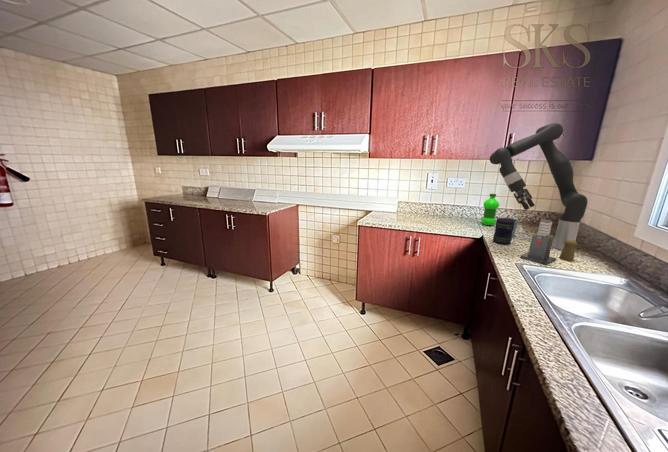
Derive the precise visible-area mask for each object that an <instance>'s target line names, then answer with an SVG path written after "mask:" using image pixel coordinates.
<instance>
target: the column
mask: <svg viewBox="0 0 668 452" xmlns="http://www.w3.org/2000/svg"><path fill="white" fill-rule="evenodd" d="M539 222H540V223H539V226H538V231H537V233H538V236H543V237H549V235H550V234H551V229H552V226H553V220H549V219H541V220H540V221H539Z"/></svg>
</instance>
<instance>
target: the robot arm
mask: <svg viewBox="0 0 668 452" xmlns="http://www.w3.org/2000/svg"><path fill="white" fill-rule="evenodd" d="M563 133H564V127H563V125H562V124H560V123H558V122H553V123H549V124H546V125H544V126H541V127H539V128H537V130H536V131H535V133H534V134H532V135H529V136H527V137H524V138H521V139H519V140H516V141H514V142H512V143H510V144H508V145H507V146H505V147H499V148H497V149H496V150H495V151H494V152H492V153H491V155H490V156H489V161H490V162H489V163H491V164H493V165H500V168H499V173H500V175H501V176H502V179H503V181H504V182H505V185H506V187H507V188H508V189H509V191H510V193H513V196H514V199H515V200H516V202H517V204H519V205H521V206H522V208H523V210H525V211H527V210H529V209H530V208H533V207H535V206H536V205H535V203H534V201H533V200H532V199H533V196H532V194H531V193H530V191H529V190H528V188H525V187H527V184H526V182H525V181H524V179H523V177H522V175H521V174H520V172H518V170H517V169H516V167H515V166H514V163H513V162H514V161H513V159H512V158H513V157H516V156H518V155H520V154H522V153H524V152H526V151H528V150H531V149H532V148H534V147H536V146H539V147H540V150H542V153H543V155H544V157H545V160H546V162H547V164H548V167H549V171H550V172H551V175H552V177H553V179H554V182H555V184H556V186H557V189H558V192H559V197H560V201H561V203H562V205H563V207H564V208H565V209H564V212H563V213H562V214H560V216H559V220H558V224H557V228H556V232H555V235H554V239H553V243H552V247H553V248H555V249H557V250H561V251H562V250H563V248H564V246H565V245H564V241H565V240H567V239H570V240H575V241H576V239H577V236H578V232H579V228H580V224H581V221H582V219H583V218H584V215H585V213H586V210H587V206H588V198H587V196H586V195H584V194H580V193H578V191H577V189H576V186H575V184H574V170H573V166H572V163H571V160H570V159H569V158H568V156H567V155H566V154H564V153H563V152H562V151H561V150H559V149H558V148H557V147H556V145H555V142H554V141H555V140H558V139H559V138H561V136H562V135H563Z"/></svg>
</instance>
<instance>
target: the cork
mask: <svg viewBox="0 0 668 452" xmlns="http://www.w3.org/2000/svg"><path fill="white" fill-rule="evenodd" d="M564 245H565V246H564V248H563V250H561V252H560V254H559V256H558V259H559V260H561V261H564V262H572V263H573V262H574V260H575V249H576V248H575V247H577V245H578V242H577V241H576V240H570V239H567V240H565V241H564Z"/></svg>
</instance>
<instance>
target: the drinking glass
mask: <svg viewBox="0 0 668 452" xmlns="http://www.w3.org/2000/svg"><path fill="white" fill-rule="evenodd" d="M504 218H505V219H511V220H514V221H515V223H514V229H513V231H512V239H513V238H514V237H515V234H516V231H517V228H518V227H517V226H518V224H519V219H516V218H513V217H504Z"/></svg>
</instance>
